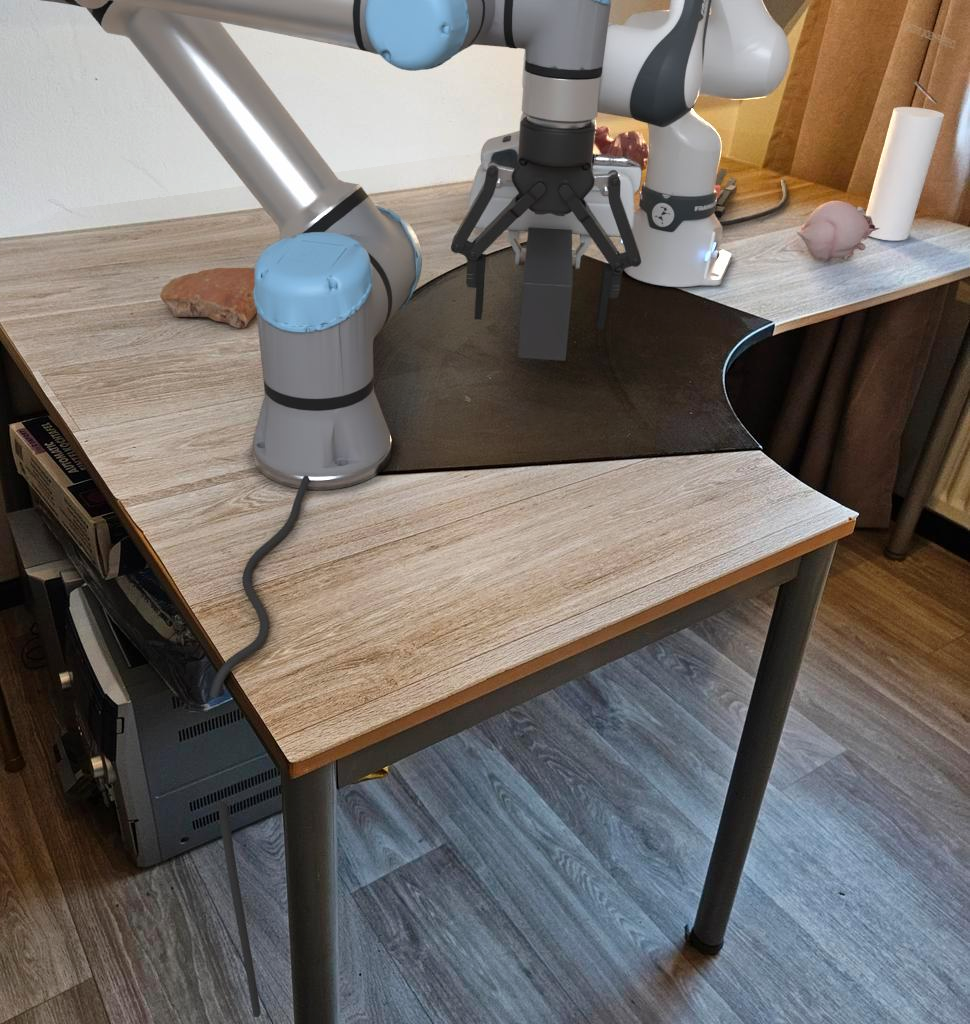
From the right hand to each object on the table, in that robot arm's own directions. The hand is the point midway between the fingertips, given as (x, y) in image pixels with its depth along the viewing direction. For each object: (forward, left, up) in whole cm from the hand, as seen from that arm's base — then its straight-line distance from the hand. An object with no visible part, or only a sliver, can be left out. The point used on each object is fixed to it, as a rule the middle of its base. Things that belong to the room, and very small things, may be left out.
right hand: (546, 265), depth 121 cm
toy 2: (-71, +21, -14) cm, 76 cm away
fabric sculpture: (-70, -30, -14) cm, 78 cm away
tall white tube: (-92, +26, -14) cm, 96 cm away
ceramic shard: (+10, -48, -14) cm, 51 cm away
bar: (+7, +4, -4) cm, 9 cm away
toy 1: (-88, -7, -14) cm, 89 cm away
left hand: (+15, +7, 0) cm, 17 cm away
